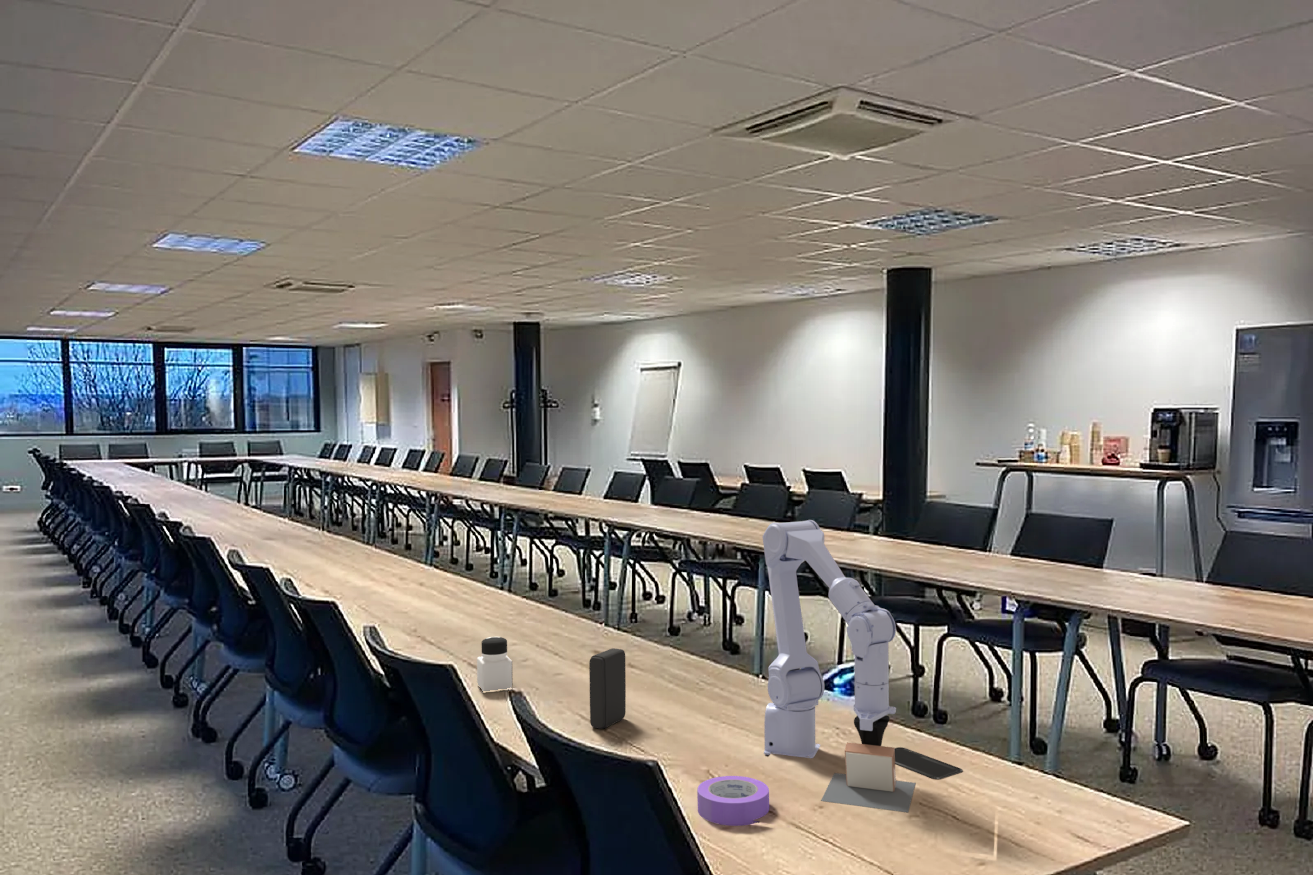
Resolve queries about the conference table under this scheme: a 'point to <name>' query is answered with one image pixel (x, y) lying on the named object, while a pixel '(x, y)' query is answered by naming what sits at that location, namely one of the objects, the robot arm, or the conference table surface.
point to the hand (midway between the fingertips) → (872, 759)
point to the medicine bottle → (494, 665)
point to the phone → (924, 764)
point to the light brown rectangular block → (870, 766)
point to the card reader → (607, 688)
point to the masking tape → (733, 800)
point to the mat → (869, 795)
